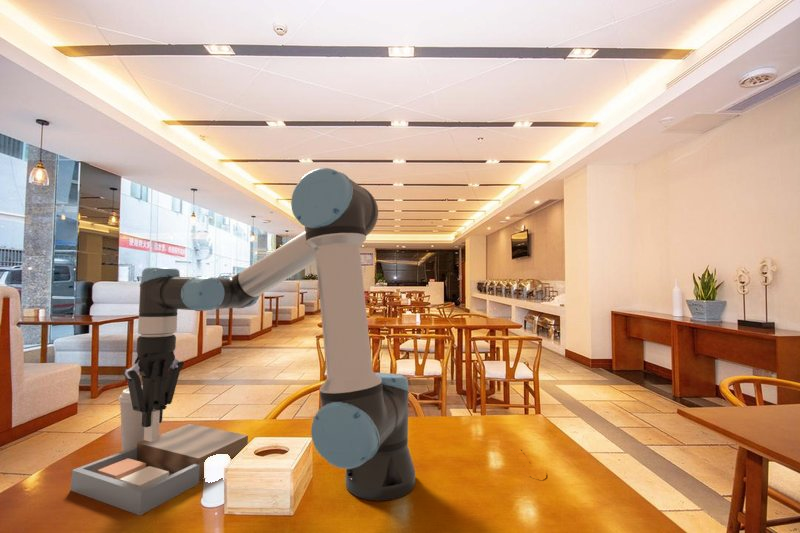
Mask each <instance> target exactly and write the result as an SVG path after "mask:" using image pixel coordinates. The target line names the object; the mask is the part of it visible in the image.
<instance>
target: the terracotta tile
mask: <svg viewBox="0 0 800 533" xmlns="http://www.w3.org/2000/svg"><path fill="white" fill-rule="evenodd" d="M144 468H146V463H143V462H140V461H136V460H133V459H129V458H127V459H125V460H122V461H120V462H117V463H114V464H112V465H109V466H107V467H104V468H102V469H99V470H97V473H98V474H101V475H104V476H107V477H110V478H113V479H117V480H119V479H121V478H123V477H125V476H128V475H130V474H132V473H135V472H137V471H139V470H142V469H144Z"/></svg>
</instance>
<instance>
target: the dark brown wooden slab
mask: <svg viewBox="0 0 800 533" xmlns="http://www.w3.org/2000/svg"><path fill="white" fill-rule="evenodd" d="M248 435H249V434H243V433H239V432H233V431H229V430H225V429H224V430H223V429H219V428H215V427H209V426H205V425H199V424H194V423H188V424H186V425H183V426H180V427H177V428H175V429H172V430H168V431H166V432H164V433H161V434H160V433H159V435H158V440H156V441H153V442H150V441H146V440H144V441H141V442H138V443H137V461H140V462H143V463H146V466H147V467H149V466H151V467H155V468H158V469H162V470H165V471H168V472H169V473H171V474H174V473H176V472H178V471H180V470H182V469H185V468H187V467H189V466H191V465H193V464H195V463H197V464H200V468H199V483H200V482H202V481H204V480H203V478H204V462H205V460H206V459H207V458H208V457H210V456H213V455H216V454H228V455H229V456H230V458H231V459H233V458H234V457H235V456H236V455H237V454H238V453H239V452H240V451H241V450H242V449H243V448H244V447H245V446H246V445H247V444H248V445H249V443H248V442H249V436H248Z"/></svg>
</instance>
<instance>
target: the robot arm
mask: <svg viewBox="0 0 800 533" xmlns="http://www.w3.org/2000/svg"><path fill="white" fill-rule="evenodd" d="M290 201H291V203H290V204H291V206H290V207H291V210H292V214H293V216H294V217H295V219H296V220H297V221H298V223H299V224H301V225H302V226H304V231H303V232H301V233H300V234H299V235H297V236H295V237H294V238H291V240H288V242H285V243H284V244H283V245H281V246H279V247H278V248H277V249H275V250H274V251H272V252H270V253H268V254H267V255H265V256H264V257H262V258H261V259H259V260H258V261H256V262H254V263H253V264H251V265H249V266H248V267H246V268H245V269H243V270H241V271H240V272H238V273H237V274H235V275H234V276H232V277H229V278H228V277H213V276H207V275H205V276H203V275H197V276H180V270H179V269H177V268H173V267H145V268H144V269H143V270H142V272H141V279H140V283H139V305H138V306H139V307H138V324H137V326H138V328H137V333H138V335H139V336H138V337H137V339H136V354H137V355H136V356H137V357H136V359H135V360H134V364H133V365H132V366H131V367H130V368H126V369H123V371H122V375H123V376H124V378H125V379H126V380H127V386H128V387H127V388H129V392H130V397H131V402H132V407H133V410H135V411H139V412H142V427H144V440H146V441H150V442H153V441H156V440H158V435H160V424H161V423H162V422H163V412H164V410H166V409H167V407H168V406H167V405H171V404H172V403H173V398H174V395H175V391H176V386H177V384H178V380H179V376H180V372H181V370H182V368H183V367H184V365H185V362H184V361H183V360H182V361H181V360H178V359H177V358H176V355H175V350H176V345H177V344H176V343H177V342H176V341H177V335H176V334H175V333H176V332H177V331H178V330H177V329H178V310H183V311H184V310H185V311H195V312H206V311H214V310H219V309H244V308H248V307H251V306H254V305H256V303H257V302H258V300H259V298H260V296H261V295H263V294H264V293H266V292H268V291H270V290H272V289H273V288H275V287H277V286H278V285H279V284H281V283H283V282H285V281H286V280H288V279H290V278H291V277H293V276H294V275H297V274H298V273H300V272H301V271H303V270H305V269H307V268H308V267H310V266H311V265H313V264H315V263H316V273H317V284H318V295H319V305H320V306H319V307H320V316H321V327H322V338H323V348H324V360H325V369H326V379H325V380H324V382H323V383H322V385H321V386H320V387H319V396H320V397H319V398H320V407H321V408H319V409H318V411H317V412H316V414H315V416H314V417H313V419H312V422H311V429H310V430H311V433H310V434H311V438H312V439H311V440H312V442H313V445H314V447H315V449H316V451H317V452H318V454H319V456H320V457H321V458H324V459H325V460H326V462H327V463H328V464H330V465H331V466H333V467H336V468H339V469H343V470H344V469H345V476H344V477H345V478H344V479H345V480H344V485H345V487H346V489H347V491H348V492H349V493H351V494H352V495H354V496H356V497H358V498H360V499H364V500H368V501H379V500H383V501H391V499H392V500H395V499H399V498H401V496H402V497H404V496H406V495H407V493H408V492H409V493H410V492H412V490H413V489H414V488H415V486H416V470H415V466H414V463H413V459H412V456H411V452H410V449H409V446H408V445H409V442H408V440H409V438H408V436H409V434H408V433H409V394H410V389H409V380H408V378H407V377H406V376H404V375H401V374H397V373H389V372H374V369H373V360H372V352H371V351H372V350H371V343H370V342H371V341H370V333H369V324H368V316H367V313H368V312H367V306H366V304H367V303H366V295H365V287H364V277H363V275H364V274H363V268H362V258H361V250H360V248H361V246H362V245H363V244H364V243H365V241H366V240H367V236H368V235H369V234H371V232H372V231H373V230H374V229H375V227H376V224H377V222H378V218H379V207H378V203H377V200H376V199H375V197H374V196H373V194H372V193H371V192H370V191H369V190H367V189H366V188H364V187H362V186H361V185H359V184H358V182H355V181H354V180H352V179H351V178H349V176H348V175H347V174H346V173H344V172H340V171H338V170H335V169H333V168H328V167H320V168H316V169H313V170H311V171H308V172H307V173H306V174H304V176H302V178H301V179H300V181H299V182H298V183H297V184H296V185H295V187H294V189H293V191H292V195H291V200H290ZM140 374H141V378H140ZM141 380H142V381H141ZM153 408H154V409H153ZM414 485H415V486H414ZM413 487H414V488H413ZM409 493H408V494H409ZM405 494H406V495H405ZM403 495H404V496H403Z"/></svg>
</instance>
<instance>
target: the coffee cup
mask: <svg viewBox="0 0 800 533" xmlns="http://www.w3.org/2000/svg"><path fill="white" fill-rule="evenodd" d="M117 401H118V402H119V406H120V408H119V409H120V423H121V424H120V428H121V430H120V431H121V452H122V451H125V450H128V449H130V448H133V447H135V448H137V443H138V442H141V441H144V427H142V412H139V411H135V410H133V407H132V402H131V397H130V392H129V387H127V388H125V389H123V390H122V392H121V394H120V395H119V397H118V399H117ZM153 409H154V408H153Z"/></svg>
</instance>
